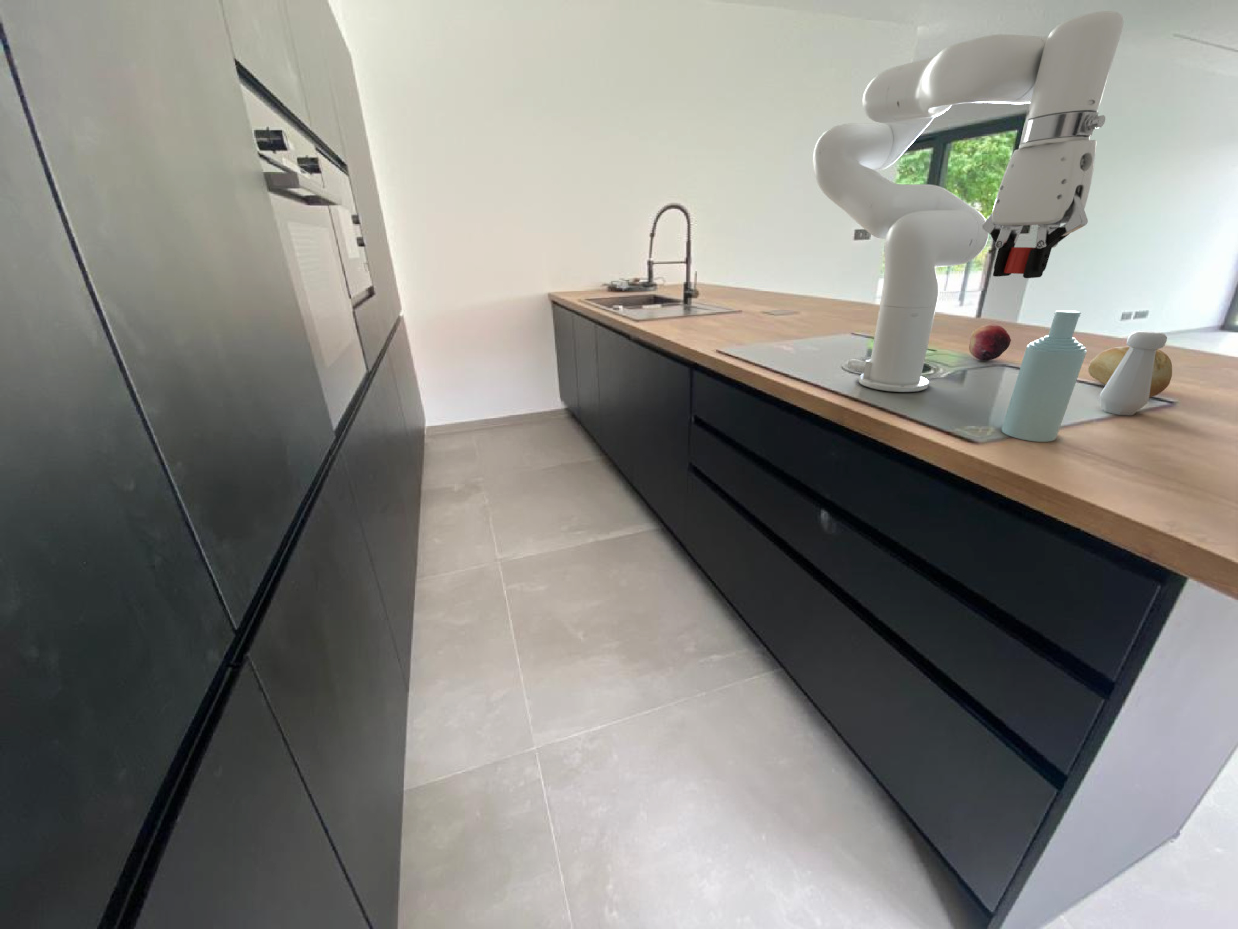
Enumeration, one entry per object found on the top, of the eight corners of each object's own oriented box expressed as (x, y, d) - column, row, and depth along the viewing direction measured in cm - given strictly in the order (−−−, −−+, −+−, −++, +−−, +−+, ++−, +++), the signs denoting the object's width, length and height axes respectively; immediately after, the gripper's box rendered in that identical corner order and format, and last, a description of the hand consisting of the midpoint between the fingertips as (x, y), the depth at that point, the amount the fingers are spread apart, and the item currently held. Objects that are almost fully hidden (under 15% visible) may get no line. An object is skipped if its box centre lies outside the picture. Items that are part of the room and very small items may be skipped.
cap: (1029, 274, 73) (1038, 247, 72) (999, 272, 76) (1007, 247, 75) (1038, 274, 75) (1047, 248, 74) (1009, 272, 78) (1017, 247, 77)
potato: (1126, 379, 99) (1142, 339, 96) (1182, 402, 86) (1203, 356, 83) (1069, 378, 101) (1083, 338, 98) (1115, 400, 88) (1133, 355, 85)
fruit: (985, 355, 121) (994, 321, 118) (1013, 362, 114) (1023, 326, 111) (956, 357, 120) (965, 323, 116) (983, 365, 113) (993, 329, 110)
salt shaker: (1151, 417, 80) (1187, 335, 75) (1109, 416, 81) (1142, 335, 76) (1126, 406, 85) (1157, 328, 80) (1087, 405, 86) (1115, 328, 81)
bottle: (1006, 438, 75) (1045, 314, 67) (997, 424, 80) (1032, 307, 72) (1062, 444, 72) (1108, 315, 64) (1048, 429, 77) (1090, 308, 70)
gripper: (1149, 121, 62) (1096, 278, 70) (1012, 144, 76) (981, 272, 84) (1110, 119, 60) (1060, 281, 67) (977, 143, 74) (948, 275, 82)
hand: (1016, 275), depth 76 cm, fingers closed on cap, 3 cm apart
